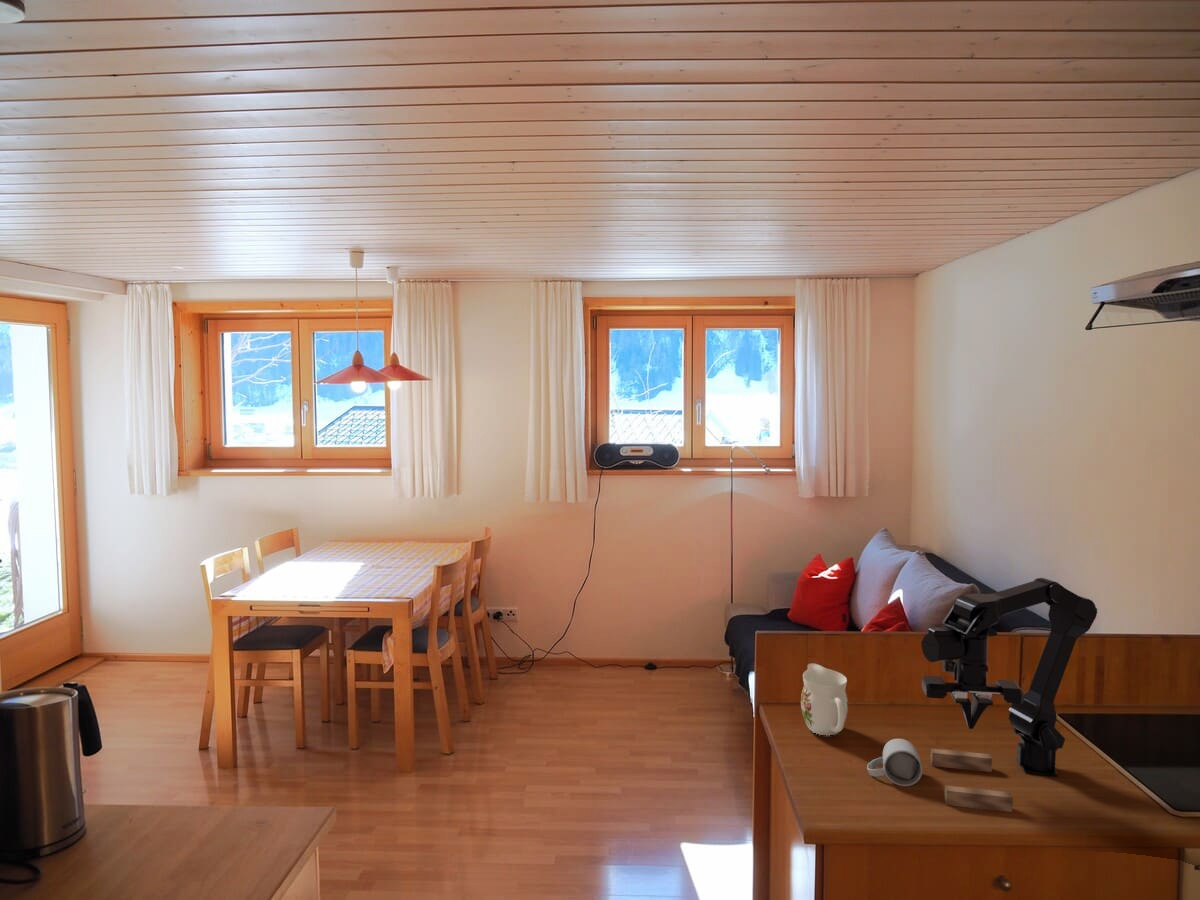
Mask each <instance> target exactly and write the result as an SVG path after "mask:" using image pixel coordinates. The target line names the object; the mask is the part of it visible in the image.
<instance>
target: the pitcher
mask: <svg viewBox="0 0 1200 900" xmlns="http://www.w3.org/2000/svg"><path fill="white" fill-rule="evenodd" d="M802 680H803V688H802V691H801V695H800V708H801V709H800V710H801V714H802V717H803V719H804V722H805V724H806V726H807V728H808V729H809V731H810V730H811V731H812V732H811V731H810V732H811V733H813V734H814V733H816V734H815V735H817V734H819V735H818V736H820V735H826V736H825V737H831V736H830V735H834V736H836V735H838V733H840V732H841V731H842V730H843V729H844V727H845V722H846V719H847V717H848V710H849V698H848V695H847V692H846V687H847V683H848V678H847V677H846V675H844V674H843V673H841V672H839V671H836V670H833V669H830V668H826V667H824V666H823V665H820V664H817V663H808V664H807V669H806V670H805V671H803V673H802ZM835 734H836V735H835ZM827 735H828V736H827Z"/></svg>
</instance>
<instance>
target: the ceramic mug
mask: <svg viewBox="0 0 1200 900" xmlns="http://www.w3.org/2000/svg"><path fill="white" fill-rule="evenodd" d="M881 765H882V766H883V767H881V768H876V767H879V766H881ZM866 768H867V772H868V774H869V776H871V777H876V778H877V777H878V778H879V777H884V776H885V777H886V778H887V779H888V780H889V781H890V782H892V783H893V784H894V785H897V786H900V787H910V786H913V785H915V784H916V783H918V782H919V781H920V779H921V778H922V775H923V765H922V761H921V758H920V756H919V753H918V751H917V749H916V747H915V746H914V745H913V743H911V742H910V741H908V740H906V739H903V738H893V739H890V740H888V741H887V742H886V744H885V745H884V747H883V750H882V756H880V757H878V758H875V759H872V760H871V761H870V762H868V764H867V766H866ZM874 768H875V769H874Z"/></svg>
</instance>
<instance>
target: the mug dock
mask: <svg viewBox="0 0 1200 900" xmlns="http://www.w3.org/2000/svg"><path fill="white" fill-rule="evenodd" d="M929 762H930V764H931V767H939V768H950V769H959V770H966V771H967V770H968V771H970V770H971V771H979V772H986V773H987V772H989V773H992V769H993V768H992V767H993V758H992V755H991V754H990V753H982V752H981V753H980V752H971V751H961V750H951V749H949V750H948V749H939V748H930V761H929ZM943 798H944V799H943V800H944V802H945V805H946V806H954V807H962V808H971V809H980V810H989V811H990V810H991V811H998V812H1005V813H1006V812H1007V813H1013V803H1014V802H1013V800H1014V797H1013V795H1012V794H1011V792H1010V791H1002V790H1001V791H999V790H991V789H984V788H983V789H980V788H972V787H963V786H955V785H954V786H953V785H944V797H943Z"/></svg>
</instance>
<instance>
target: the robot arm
mask: <svg viewBox="0 0 1200 900" xmlns="http://www.w3.org/2000/svg"><path fill="white" fill-rule="evenodd" d="M1043 603H1045V604H1046V605H1047V606H1049V610H1048V621H1049V624H1050V625H1049V626H1050V632H1049V635H1048V637H1047V640H1046V643H1045V645H1044V648H1043V651H1042V654H1041V656H1040V659H1039V660H1038V661H1039V662H1038V664H1037V667H1036V670H1035V671H1034V672H1035V673H1034V676H1033V677H1032V681H1031V682H1030V687H1029V688H1028V691H1026V692H1025V693H1024V690H1022V688H1021V687H1020V686H1019V684H1017V682H1016V681H1015V680H1006V679H996V680H995V685H994V684H988V683H987V679H988V672H989V666H988V646H989V645H988V643H989V642H988V641H989V637H997V635H998V632H997V631H996V630H995V629H993V628H992V627H991V626H993V625H996V624H998V623H999V621H1000V620H1002V617H1003V616H1005V615H1007V614H1010V613H1014V612H1017V611H1021V610H1023V609H1024V610H1025V609H1027V608H1029V607H1033V606H1036V605H1041V604H1043ZM1097 615H1098V608H1097V607H1096V604H1095V602H1094V601H1093V600H1092V599H1090V598H1086V597H1083V596H1081V595H1077V594H1076V593H1074V592H1072V591H1071V590H1069V589H1067V588H1065V587H1064V586H1063V585H1061V583H1059V582H1057V581H1054V580H1050V579H1048V578H1044V577H1037V578H1035V579H1034V580H1033V581H1029V582H1026V583H1023V584H1019V585H1017V586H1016V585H1015V586H1013V587H1010V588H1006V589H1002V590H999V591H997V592H993V593H968V594H961V595H959V596H958V597H957V598H955V602H954V604H953V605H952V607H951V608H950V610H949V612H948V613H947V615H946V616H945V618H944V619H943V621H942V622H941V626H942V627H929V628H928V630H927V631H928V632H927V634H925V635H924V636H923V637H922V640H921V643H920V644H921V645H920V647H921V650H922V653H923V656H924V658H925V659H926V660H927V661H928V662H930V663H939V662H941V663H942V664H941V665H942V666H941V667H942V672H943V673H944V672H945V673H951V677H952V678H953V680H954V681H956V682H947V681H945V680H944V678H943V676H937V675H924V676H923V677H922V679H921V688H922V691H923V693H924V694H925V696H926V697H927V698H929V699H930V698H931V699H942V700H943V699H944V698H945V697H947V695H948V693H950V696H951V698H952V699H953V700H954V702H955V703H956V704H959V706H960V707H961V711H962V713H963V716H964V720H965V722H966V725H967V728H968V730H973V729H974V728H975V727H976V725H977V723H978V721H979V719H980V717H981V716H982V715H983V713H984V712H985V711H986V709H987V708H988V706H994V702H993V700H992V698H993V696H1002V699H1004V701H1005V702H1006V703H1009V704H1011V705H1010V707H1009V709H1008V710H1007V712H1009V713H1008V714H1009V715H1008V720H1009V723H1010V725H1011V726H1012V728H1013V731H1014V734H1016V735H1019V736H1020V739H1019V740H1020V741H1019V742H1017V746H1016V747H1017V749H1016V762H1017V763H1018V764H1019V767H1021V769H1022V770H1023V772H1024V773H1025V774H1032V775H1034V774H1035V775H1044V776H1053V777H1058V775H1059V773H1058V771H1057V770H1056V759H1057V757H1056V756H1057V755H1056V754H1057V753H1056V752H1057V751H1058V749H1063V747H1064V743H1065V741H1066V738H1065V737H1064V736H1063V735H1062V734H1061V732H1059V730H1057V729H1056V721H1057V711H1056V708H1055V699H1056V696H1057V693H1058V691H1059V688H1060V684H1061V683H1062V679H1063V676H1064V674H1065V671H1066V669H1067V666H1068V663H1069V661H1070V658H1071V655H1072V652H1073V650H1074V647H1075V645H1076V642H1077V640H1078V639H1079V638H1081V637H1082V636H1083V635H1084V634H1086V633H1087V632H1089V631H1090V629H1091V627H1092V625H1093V624H1094V621H1095V620H1096V617H1097ZM958 621H960V622H961V623H960V622H958ZM962 623H963V624H962ZM964 624H967V625H968V626H967V625H964ZM969 694H971V700H970V699H969Z"/></svg>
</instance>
